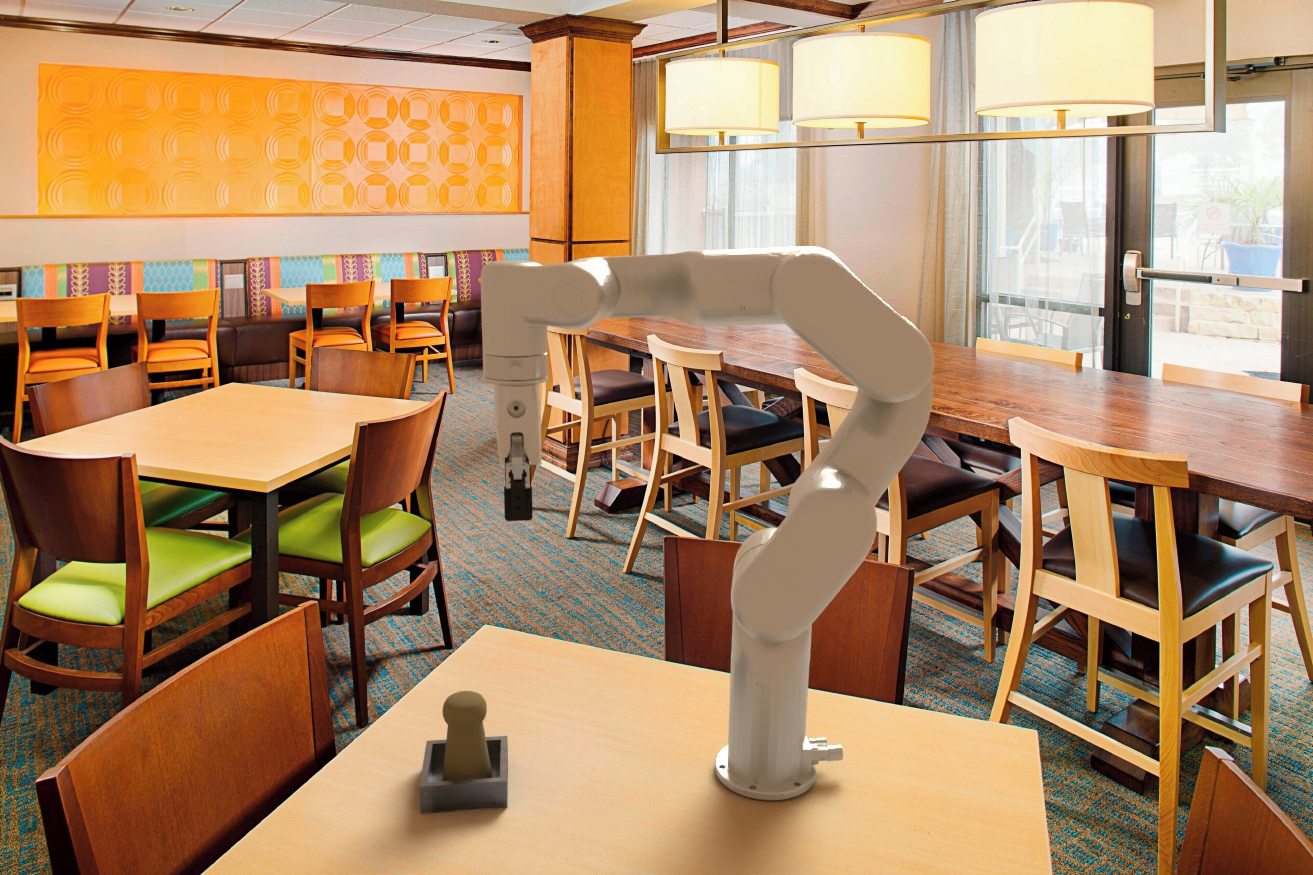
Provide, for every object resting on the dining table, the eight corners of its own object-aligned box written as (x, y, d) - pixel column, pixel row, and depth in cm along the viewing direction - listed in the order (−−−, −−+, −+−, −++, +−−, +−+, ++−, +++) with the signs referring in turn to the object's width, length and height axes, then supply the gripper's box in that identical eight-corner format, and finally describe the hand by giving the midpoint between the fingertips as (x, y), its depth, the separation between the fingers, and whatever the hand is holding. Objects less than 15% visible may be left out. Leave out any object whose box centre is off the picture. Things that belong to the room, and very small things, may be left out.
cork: (496, 765, 123) (493, 684, 120) (487, 793, 117) (485, 709, 114) (447, 764, 123) (444, 683, 120) (436, 792, 117) (433, 708, 114)
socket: (507, 760, 126) (507, 735, 125) (507, 807, 116) (506, 780, 115) (427, 765, 124) (426, 740, 123) (420, 813, 115) (419, 786, 114)
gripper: (550, 380, 108) (552, 529, 112) (545, 356, 124) (547, 486, 128) (480, 381, 107) (485, 531, 111) (485, 356, 123) (489, 487, 127)
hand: (518, 507), depth 119 cm, fingers open, 9 cm apart
